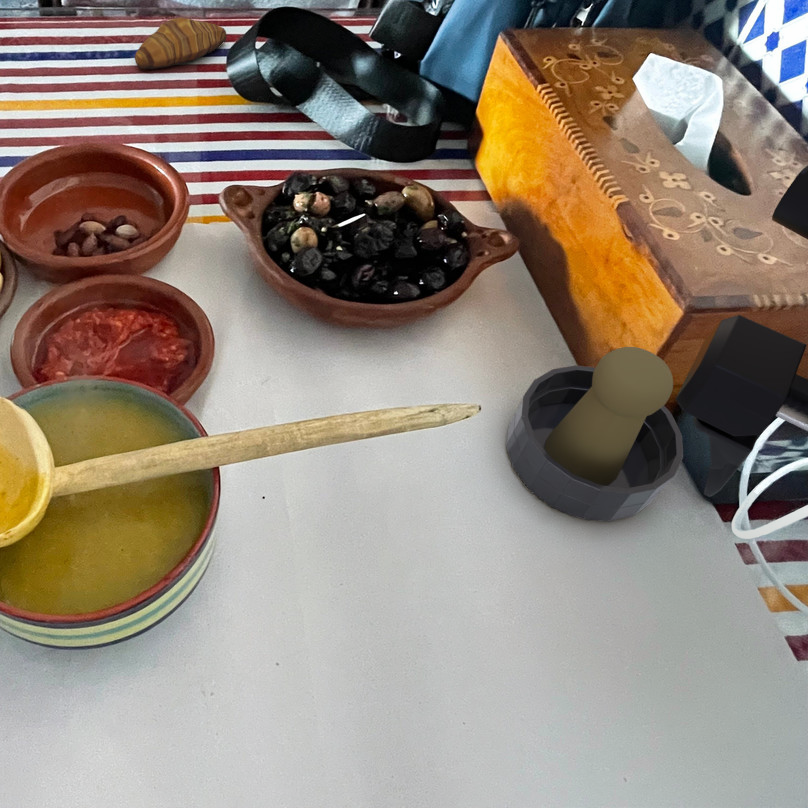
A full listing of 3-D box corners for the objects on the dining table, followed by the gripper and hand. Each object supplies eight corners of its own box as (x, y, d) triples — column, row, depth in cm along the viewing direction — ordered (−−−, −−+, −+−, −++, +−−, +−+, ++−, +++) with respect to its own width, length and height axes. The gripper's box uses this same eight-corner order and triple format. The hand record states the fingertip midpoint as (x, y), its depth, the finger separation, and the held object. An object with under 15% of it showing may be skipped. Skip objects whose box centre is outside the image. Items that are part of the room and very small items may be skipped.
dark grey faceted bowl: (675, 447, 63) (702, 414, 59) (625, 553, 56) (652, 523, 53) (540, 378, 67) (558, 343, 63) (479, 470, 60) (495, 436, 57)
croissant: (153, 84, 93) (150, 43, 89) (123, 60, 96) (119, 20, 92) (240, 54, 99) (241, 14, 95) (210, 32, 102) (209, -7, 98)
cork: (569, 413, 64) (625, 320, 55) (634, 457, 61) (703, 367, 52) (530, 453, 61) (581, 363, 52) (596, 501, 58) (662, 414, 50)
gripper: (1286, 337, 32) (988, 522, 44) (818, 165, 38) (671, 369, 50) (1324, 523, 26) (968, 677, 38) (764, 285, 32) (612, 483, 44)
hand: (790, 532), depth 43 cm, fingers open, 9 cm apart
